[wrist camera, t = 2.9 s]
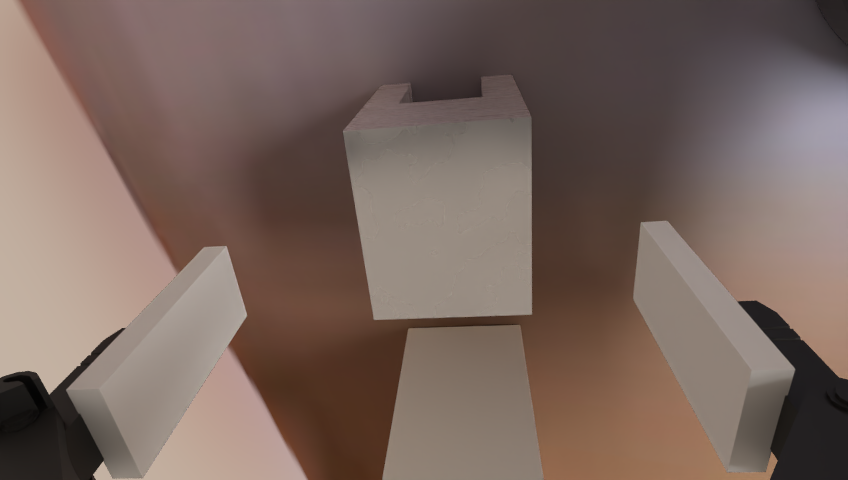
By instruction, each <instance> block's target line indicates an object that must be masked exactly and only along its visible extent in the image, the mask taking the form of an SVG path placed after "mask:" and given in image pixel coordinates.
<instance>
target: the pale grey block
mask: <svg viewBox="0 0 848 480" xmlns="http://www.w3.org/2000/svg"><path fill="white" fill-rule="evenodd" d="M481 93H482V97H476V98H464V99H451V100H439V101H426V102H414V103H413V99H412V89H411V83H402V84H390V85H381V86H380V88H379V89H378V90H377V91H376V92H375V94H374V95H373V96H372V97H371V98H370V99H369V101H368V102H367V103H366V104H365V105H364V107H363V108H362V109H361V110H360V111H359V112H358V114H357V115H356V116H355V117H354V118H353V120H352V121H351V122H350V123H349V124H348V126H347V127H346V128H345V129H344V130H343V136H344V142H345V148H346V154H347V160H348V166H349V172H350V178H351V184H352V190H353V196H354V203H355V209H356V215H357V221H358V227H359V233H360V239H361V245H362V251H363V257H364V263H365V269H366V275H367V281H368V287H369V293H370V299H371V305H372V311H373V317H374V320H387V319H417V318H447V317H477V316H507V315H532V117H531V115H530V113H529V110H528V108H527V106H526V104H525V102H524V100H523V98H522V96H521V93H520V91H519V89H518V87H517V85H516V83H515V81H514V79H513V76H512V74H508V75H496V76H485V77H481Z"/></svg>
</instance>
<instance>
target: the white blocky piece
mask: <svg viewBox="0 0 848 480" xmlns="http://www.w3.org/2000/svg"><path fill="white" fill-rule="evenodd" d="M382 480H544V478H543V472H542V465H541V459H540V452H539V445H538V439H537V432H536V426H535V419H534V412H533V406H532V399H531V393H530V386H529V379H528V373H527V366H526V360H525V353H524V347H523V340H522V333H521V327H520V325H498V326H466V327H434V328H408V333H407V339H406V345H405V351H404V356H403V362H402V368H401V374H400V379H399V385H398V391H397V397H396V403H395V408H394V414H393V420H392V426H391V431H390V437H389V443H388V449H387V455H386V460H385V466H384V472H383V478H382Z"/></svg>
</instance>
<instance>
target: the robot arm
mask: <svg viewBox="0 0 848 480" xmlns="http://www.w3.org/2000/svg"><path fill="white" fill-rule="evenodd" d="M816 1H817V4H818V6H819V8H820V10H821V12H822V14H823V16H824V18H825V19H826V21H827V22H828V24H829V25H830V27H831V28H832V29H833V31H834V32H835V33H836V34H837V35H838V36H839V37H840V38H841V39H842V40H843V41H844V42H845V43H846V44H847V45H848V0H816ZM633 300H634V302H635V304H636V305H637V307H638V309H639V311H640V313H641V315H642V316H643V318H644V320H645V322H646V324H647V326H648V328H649V329H650V331H651V333H652V335H653V337H654V339H655V340H656V342H657V344H658V346H659V348H660V350H661V351H662V353H663V355H664V357H665V359H666V361H667V363H668V364H669V366H670V368H671V370H672V372H673V374H674V375H675V377H676V379H677V381H678V383H679V385H680V386H681V388H682V390H683V392H684V394H685V396H686V398H687V399H688V401H689V403H690V405H691V407H692V409H693V410H694V412H695V414H696V416H697V418H698V420H699V421H700V423H701V425H702V427H703V429H704V431H705V433H706V434H707V436H708V438H709V440H710V442H711V444H712V445H713V447H714V449H715V451H716V453H717V455H718V456H719V458H720V460H721V462H722V464H723V466H724V468H725V469H726V471H727V472H766V469H767V465H768V462H769V458H770V455H771V452H773V454H774V455H775V457H776V458H777V460H778V462H777V464H776V466H775V469H774V471H773V474H772V476H771V478H770V480H848V380H847V379H843V378H839V377H838V376H837V375H836V374H835V373H834V372H833V371H832V370H831V369H830V368H829V367H828V366H827V365H826V364H825V363H824V362H823V361H822V360H821V358H820V357H819V356H818V355H817V354H816V353H815V352H814V351H813V350H812V349H811V348H810V347H809V346H808V345H807V344H806V343H805V342H804V341H803V340H801V339H800V336H799V335H798V334H797V333H796V332H795V331H794V330H793V329H790V326H789V325H788V324H787V323H786V322H785V321H784V320H783V319H782V318H781V317H780V316H779V314H778V313H777V312H775V311H773V310H771V309H770V308H768V307H766V306H765V305H763V304H761V303H759V302H758V301H736V300H735V299H734V298H733V296H732V295H731V294H730V293H729V292H728V291H727V289H726V288H725V287H724V286H723V285H722V284H721V283H720V281H719V280H718V279H717V278H716V277H715V276H714V274H713V273H712V272H711V271H710V270H709V269H708V267H707V266H706V265H705V264H704V263H703V262H702V261H701V259H700V258H699V257H698V256H697V255H696V254H695V252H694V251H693V250H692V249H691V248H690V247H689V245H688V244H687V243H686V242H685V241H684V240H683V239H682V237H681V236H680V235H679V234H678V233H677V232H676V230H675V229H674V228H673V227H672V226H671V225H670V223H669V222H668V221H655V222H641V226H640V235H639V245H638V255H637V265H636V275H635V284H634V294H633ZM246 317H247V313H246V310H245V306H244V303H243V300H242V296H241V293H240V290H239V286H238V283H237V280H236V276H235V273H234V270H233V266H232V263H231V259H230V256H229V253H228V249H227V246H216V247H204V248H203V249H202V250H201V251H200V252H199V253H198V254H197V255H196V256H195V257H194V258H193V259H192V260H191V261H190V262H189V263H188V264H187V266H186V267H185V268H184V269H183V270H182V271H181V272H180V273H179V274H178V275H177V276H176V277H175V278H174V279H173V280H172V281H171V282H170V283H169V284H168V285H167V286H166V287H165V289H163V290H162V291H161V292H160V293H159V294H158V295H157V296H156V298H155V299H154V300H153V301H152V302H151V303H150V304H149V305H148V306H147V307H146V308H145V309H144V310H143V311H142V312H141V313H140V314H139V315H138V316H137V317H136V318H135V319H134V320H133V321H132V323H130V324H129V325H128V326H127V327H126V328H122V329H120V330H119V331H117V332H116V333H114V334H113V335H111V336H110V337H108V338H106V339H105V340H103V341H102V342H101V343H100V345H98V347H96V348H95V350H93V351H92V353H91V355H89V356H87V358H86V359H85V360H84V361H82V363H81V366H78V367H77V368H76V369H75V370H74V371H73V372H72V373H71V374H70V375H69V376H68V377H67V378H66V379H65V380H64V381H63V382H62V383H61V384H60V385H59V386H58V387H57V388H56V389H55V390H54V391H53V392H52V393H51V394H50V395H49V394H48V392H47V390H46V389H45V387H44V385H43V383H42V382H41V379H40V378H39V376H38V374H37V373H35V372H30V371H25V372H17V373H14V374H10V375H7V376H4V377H1V378H0V480H96V479H95V478H94V476H93V474H94V472H95V471H96V470H97V468H98V467H99V466H100V464H101V463H102V462H103V461H104V463H105V465H106V467H107V469H108V471H109V473H110V474H111V476H112V478H143V477H144V476H145V474H146V472H147V471H148V469H149V468H150V466H151V465H152V463H153V461H154V460H155V458H156V457H157V455H158V454H159V452H160V450H161V449H162V447H163V446H164V444H165V443H166V441H167V440H168V438H169V437H170V435H171V433H172V432H173V430H174V429H175V427H176V426H177V424H178V423H179V421H180V419H181V418H182V416H183V415H184V413H185V411H186V410H187V408H188V407H189V405H190V404H191V402H192V401H193V399H194V398H195V396H196V394H197V393H198V391H199V390H200V388H201V387H202V385H203V383H204V382H205V380H206V379H207V377H208V376H209V374H210V373H211V371H212V369H213V368H214V366H215V365H216V363H217V362H218V360H219V359H220V357H221V355H222V354H223V352H224V351H225V349H226V348H227V346H228V345H229V343H230V341H231V340H232V338H233V337H234V335H235V334H236V332H237V331H238V329H239V327H240V326H241V324H242V323H243V321H244V320H245V318H246Z"/></svg>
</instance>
